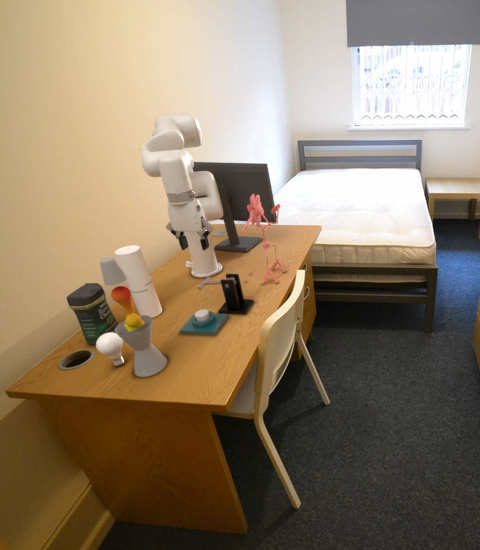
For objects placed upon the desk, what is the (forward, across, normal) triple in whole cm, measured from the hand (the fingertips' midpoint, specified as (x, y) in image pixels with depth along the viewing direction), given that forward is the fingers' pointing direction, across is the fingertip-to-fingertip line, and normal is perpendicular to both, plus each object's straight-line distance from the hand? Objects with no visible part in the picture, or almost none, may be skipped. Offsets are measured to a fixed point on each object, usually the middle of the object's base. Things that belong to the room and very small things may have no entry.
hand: (195, 248), depth 122 cm
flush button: (+21, -3, +11) cm, 24 cm away
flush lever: (+14, -5, 0) cm, 15 cm away
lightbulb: (+24, +14, +31) cm, 41 cm away
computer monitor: (+24, +13, -55) cm, 61 cm away
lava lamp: (+24, +4, +31) cm, 39 cm away
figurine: (+24, -12, -23) cm, 36 cm away
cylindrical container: (+24, +20, +5) cm, 32 cm away
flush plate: (+24, -3, +11) cm, 26 cm away
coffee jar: (+24, +28, +19) cm, 41 cm away
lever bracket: (+24, -10, 0) cm, 26 cm away
